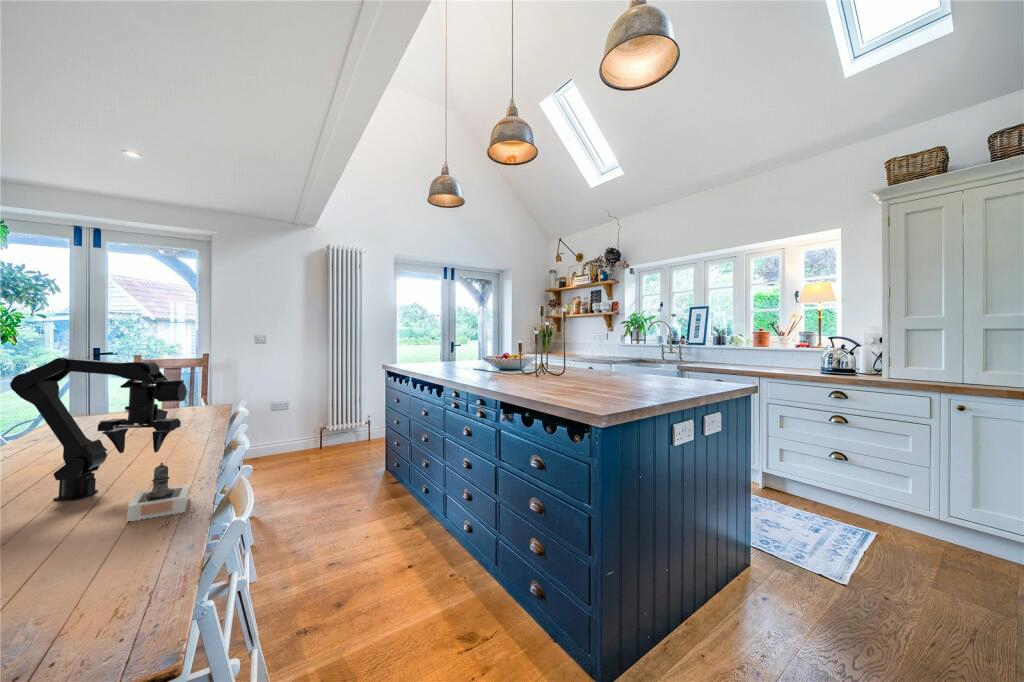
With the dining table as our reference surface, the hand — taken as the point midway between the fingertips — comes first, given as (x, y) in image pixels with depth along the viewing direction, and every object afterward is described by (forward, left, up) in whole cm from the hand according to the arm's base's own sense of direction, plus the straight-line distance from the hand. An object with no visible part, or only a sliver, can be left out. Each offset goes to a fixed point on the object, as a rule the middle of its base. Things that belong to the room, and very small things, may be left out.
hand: (139, 452), depth 117 cm
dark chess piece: (+15, -15, -11) cm, 24 cm away
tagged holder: (+16, -15, -12) cm, 25 cm away
